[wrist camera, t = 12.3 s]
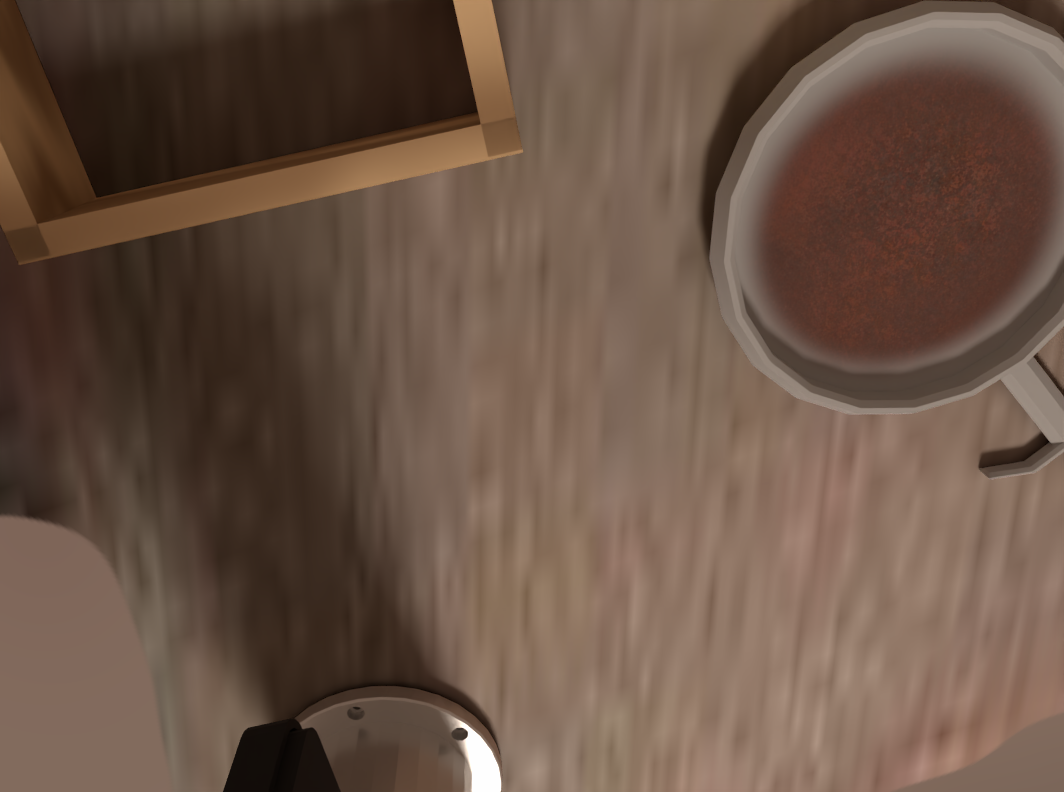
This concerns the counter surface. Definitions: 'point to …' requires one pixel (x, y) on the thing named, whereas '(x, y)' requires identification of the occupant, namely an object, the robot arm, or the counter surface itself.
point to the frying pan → (904, 217)
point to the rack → (88, 222)
